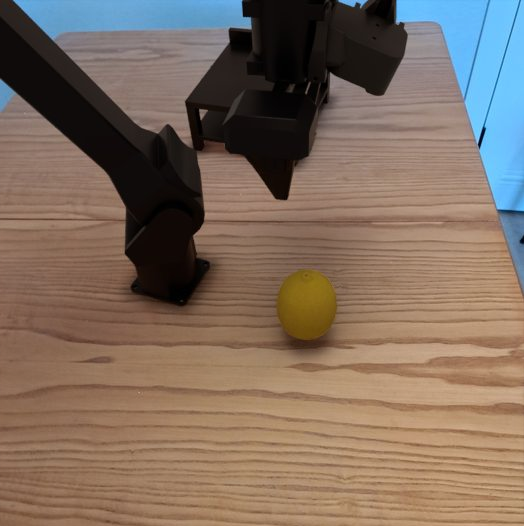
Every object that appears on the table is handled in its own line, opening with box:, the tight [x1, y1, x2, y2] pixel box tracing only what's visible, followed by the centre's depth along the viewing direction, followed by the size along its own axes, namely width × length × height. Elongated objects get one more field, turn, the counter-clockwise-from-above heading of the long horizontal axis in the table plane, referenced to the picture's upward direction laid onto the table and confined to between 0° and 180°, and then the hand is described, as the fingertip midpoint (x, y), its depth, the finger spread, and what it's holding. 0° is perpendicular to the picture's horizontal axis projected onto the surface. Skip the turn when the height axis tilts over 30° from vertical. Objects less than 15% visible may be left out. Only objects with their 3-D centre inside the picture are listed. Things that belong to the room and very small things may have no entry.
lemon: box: [275, 268, 338, 341], centre depth 52 cm, size 6×6×8 cm
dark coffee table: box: [184, 27, 331, 167], centre depth 74 cm, size 16×14×8 cm
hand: (292, 166), depth 52 cm, fingers open, 9 cm apart
